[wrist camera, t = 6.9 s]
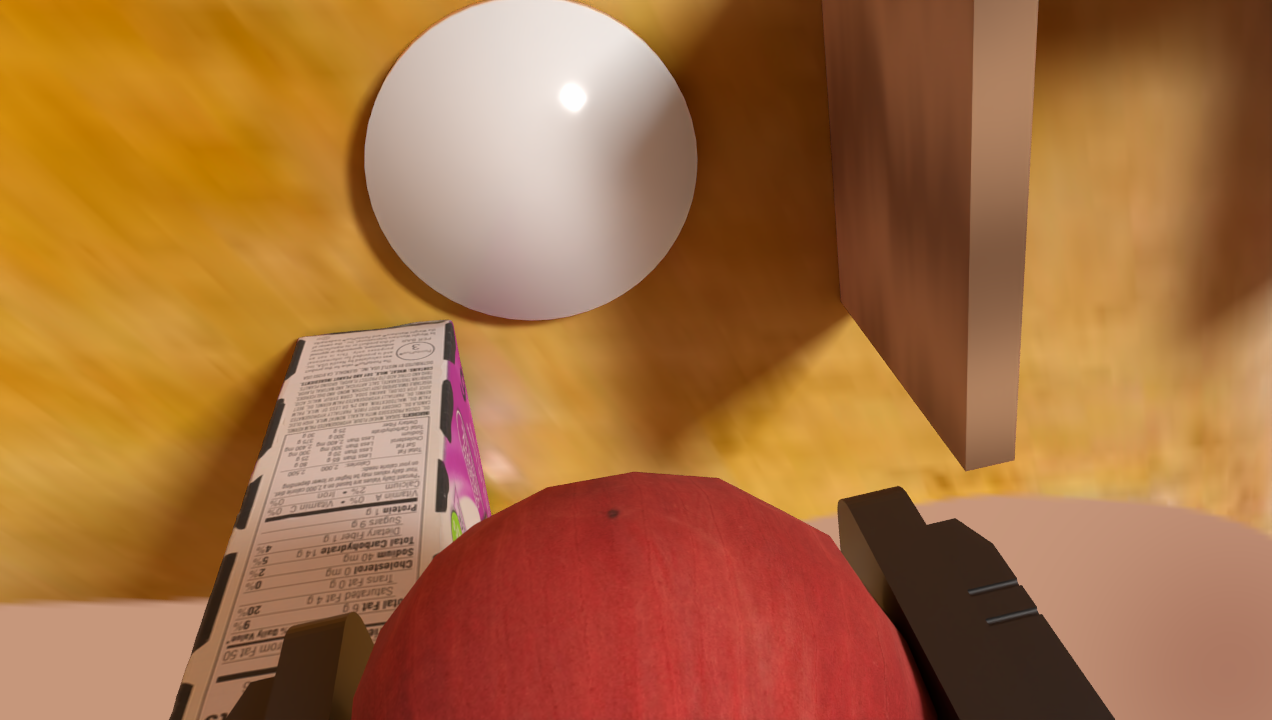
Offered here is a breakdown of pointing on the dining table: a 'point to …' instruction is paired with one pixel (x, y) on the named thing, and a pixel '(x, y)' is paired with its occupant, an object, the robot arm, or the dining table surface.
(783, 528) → the onion
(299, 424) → the candy bar box
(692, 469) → the dining table surface
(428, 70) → the coaster
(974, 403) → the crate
